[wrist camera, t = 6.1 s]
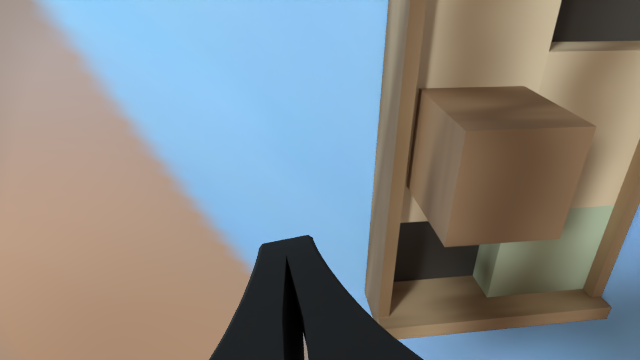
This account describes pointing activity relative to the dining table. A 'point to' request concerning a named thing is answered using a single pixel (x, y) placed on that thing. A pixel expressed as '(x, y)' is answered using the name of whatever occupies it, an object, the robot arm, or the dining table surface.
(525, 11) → the board
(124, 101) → the dining table surface
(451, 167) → the walnut block
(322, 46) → the dining table surface
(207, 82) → the dining table surface
